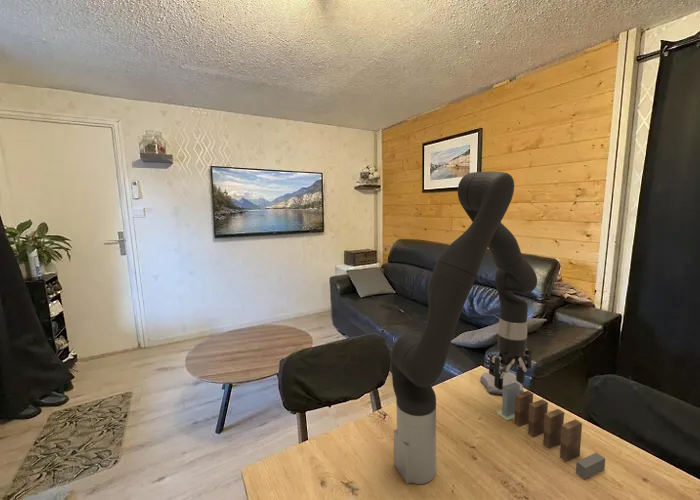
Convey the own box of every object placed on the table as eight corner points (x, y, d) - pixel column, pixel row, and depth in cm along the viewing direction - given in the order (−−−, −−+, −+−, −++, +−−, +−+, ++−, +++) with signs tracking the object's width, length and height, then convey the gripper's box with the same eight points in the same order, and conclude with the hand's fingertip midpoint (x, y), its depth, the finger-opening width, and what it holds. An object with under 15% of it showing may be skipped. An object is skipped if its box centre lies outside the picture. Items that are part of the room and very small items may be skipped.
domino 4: (548, 449, 81) (550, 417, 80) (542, 445, 83) (544, 413, 81) (562, 443, 83) (564, 412, 82) (556, 439, 84) (558, 408, 83)
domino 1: (506, 416, 94) (507, 389, 92) (501, 413, 95) (502, 386, 94) (518, 412, 95) (519, 385, 94) (514, 409, 97) (515, 382, 96)
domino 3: (533, 437, 85) (534, 407, 84) (527, 433, 87) (529, 403, 86) (546, 432, 87) (547, 402, 86) (540, 428, 89) (542, 399, 87)
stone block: (526, 401, 104) (512, 379, 113) (527, 389, 102) (513, 368, 112) (489, 402, 104) (478, 380, 114) (490, 391, 103) (479, 370, 112)
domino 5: (565, 462, 77) (568, 428, 76) (559, 457, 78) (561, 424, 77) (579, 455, 79) (582, 423, 77) (573, 451, 80) (575, 419, 79)
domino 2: (518, 426, 90) (520, 397, 88) (514, 423, 91) (515, 394, 90) (531, 422, 91) (533, 393, 90) (526, 418, 93) (528, 390, 91)
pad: (506, 420, 92) (506, 420, 92) (496, 412, 96) (496, 412, 96) (524, 414, 95) (524, 413, 95) (513, 406, 98) (513, 406, 98)
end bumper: (584, 479, 72) (585, 468, 72) (575, 473, 74) (576, 461, 73) (604, 469, 74) (605, 458, 74) (595, 463, 76) (596, 452, 76)
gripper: (504, 343, 86) (501, 397, 88) (541, 334, 91) (537, 386, 93) (483, 333, 93) (481, 384, 95) (519, 325, 98) (516, 374, 100)
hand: (509, 385), depth 94 cm, fingers open, 8 cm apart
